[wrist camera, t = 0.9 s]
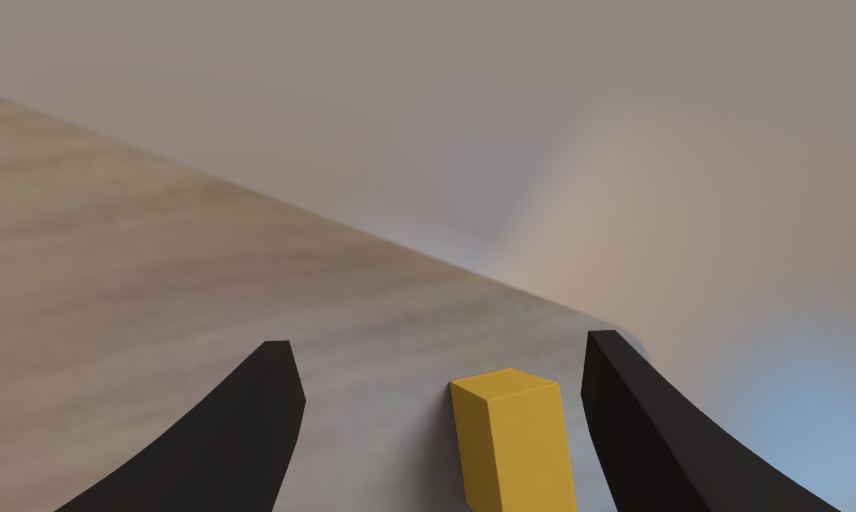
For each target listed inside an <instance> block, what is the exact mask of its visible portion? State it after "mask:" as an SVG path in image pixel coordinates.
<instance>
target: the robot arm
mask: <svg viewBox="0 0 856 512" xmlns="http://www.w3.org/2000/svg"><path fill="white" fill-rule="evenodd" d="M581 398H582V402H583V407H584V411H585V416H586V420H587V424H588V428H589V432H590V436H591V439H592V442H593V445H594V447H595V450H596V453H597V456H598V459H599V461H600V464H601V467H602V470H603V472H604V475H605V478H606V481H607V483H608V486H609V489H610V492H611V494H612V497H613V500H614V503H615V505H616V508H617V511H618V512H841V511H839V510H838V509H836V508H834V507H833V506H831V505H830V504H828V503H826V502H825V501H823V500H822V499H820V498H819V497H817V496H816V495H814V494H813V493H811V492H809V491H808V490H807V489H805V488H803V487H802V486H800V485H798V484H797V483H796V482H794V481H793V480H791V479H790V478H788V477H787V476H785V475H784V474H782V473H781V472H780V471H778V470H777V469H775V468H774V467H773V466H771V465H770V464H768V463H767V462H766V461H764V460H763V459H762V458H760V457H759V456H757V455H756V454H755V453H753V452H752V451H751V450H749V449H748V448H746V447H745V446H744V445H742V444H741V443H740V442H738V441H737V440H736V439H734V438H733V437H732V436H731V435H729V434H728V433H727V432H726V431H724V430H723V429H722V428H721V427H719V426H718V425H717V424H716V423H715V422H713V421H712V420H711V419H710V418H709V417H707V416H706V415H705V414H704V413H703V412H701V411H700V410H699V409H698V408H696V406H694V405H693V404H692V403H691V402H690V401H689V400H688V399H686V398H685V397H684V396H683V395H682V394H681V393H680V392H679V391H678V390H677V389H676V388H674V387H673V386H672V385H671V384H670V383H669V382H668V381H667V380H666V379H665V378H663V377H662V375H660V374H659V373H658V372H657V371H656V370H655V369H654V368H653V367H652V366H651V365H650V364H649V363H648V362H647V361H646V360H645V359H644V358H643V357H642V356H641V355H640V354H639V353H638V352H637V351H636V350H635V349H634V348H633V347H632V346H631V345H630V344H629V343H628V342H627V341H626V340H625V339H624V338H623V337H622V336H621V335H620V334H619V333H618V332H616V331H615V330H602V331H588V338H587V346H586V354H585V363H584V371H583V379H582V388H581ZM305 403H306V399H305V395H304V392H303V388H302V384H301V381H300V377H299V374H298V370H297V367H296V363H295V360H294V356H293V353H292V349H291V346H290V342H289V341H265V342H264V343H263V344H262V345H260V346H259V347H258V348H257V349H256V350H255V351H254V352H253V353H252V354H251V355H250V356H248V357H247V358H246V359H245V360H244V361H243V362H242V363H241V364H240V365H239V366H238V367H237V368H236V369H235V370H234V371H233V372H232V373H231V374H230V375H229V376H227V377H226V378H225V379H224V380H223V381H222V382H221V383H220V384H219V385H218V386H217V387H216V388H215V389H213V390H212V391H211V392H210V393H209V394H208V395H207V396H206V397H205V398H204V399H203V400H202V401H201V402H199V403H198V404H197V405H196V406H195V407H194V408H192V409H191V410H190V411H189V412H188V413H187V414H185V415H184V416H183V417H182V418H181V419H180V420H179V421H177V422H176V423H175V424H174V425H173V426H172V427H170V428H169V429H168V430H167V431H166V432H165V433H163V434H162V435H161V436H160V437H159V438H157V439H156V440H155V441H154V442H152V443H151V444H150V445H148V446H147V447H146V448H145V449H143V450H142V451H141V452H140V453H138V454H137V455H136V456H134V457H133V458H131V459H130V460H129V461H127V462H126V463H125V464H123V465H122V466H121V467H119V468H118V469H117V470H115V471H114V472H112V473H111V474H110V475H108V476H107V477H105V478H104V479H103V480H101V481H100V482H98V483H97V484H95V485H94V486H92V487H91V488H89V489H88V490H86V491H85V492H83V493H81V494H80V495H78V496H77V497H75V498H74V499H72V500H71V501H69V502H68V503H66V504H65V505H63V506H62V507H60V508H59V509H57V510H56V511H54V512H272V509H273V506H274V504H275V501H276V498H277V495H278V493H279V490H280V487H281V484H282V482H283V479H284V476H285V473H286V471H287V468H288V465H289V462H290V459H291V456H292V454H293V451H294V448H295V445H296V442H297V439H298V435H299V431H300V426H301V422H302V417H303V413H304V408H305Z"/></svg>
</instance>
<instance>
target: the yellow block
mask: <svg viewBox="0 0 856 512" xmlns="http://www.w3.org/2000/svg"><path fill="white" fill-rule="evenodd" d="M450 389H451V396H452V403H453V410H454V417H455V425H456V432H457V439H458V446H459V453H460V460H461V467H462V474H463V481H464V489H465V496H466V503H467V504H468V506H469V507H470V508H471V509H472V510H473V511H474V512H577V506H576V499H575V493H574V486H573V479H572V472H571V465H570V459H569V452H568V445H567V438H566V431H565V425H564V418H563V411H562V404H561V397H560V391H559V384H558V383H557V382H554V381H551V380H547V379H544V378H541V377H538V376H535V375H532V374H529V373H526V372H523V371H520V370H517V369H514V368H506V369H502V370H497V371H493V372H488V373H484V374H479V375H475V376H470V377H466V378H462V379H457V380H453V381H450Z"/></svg>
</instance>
